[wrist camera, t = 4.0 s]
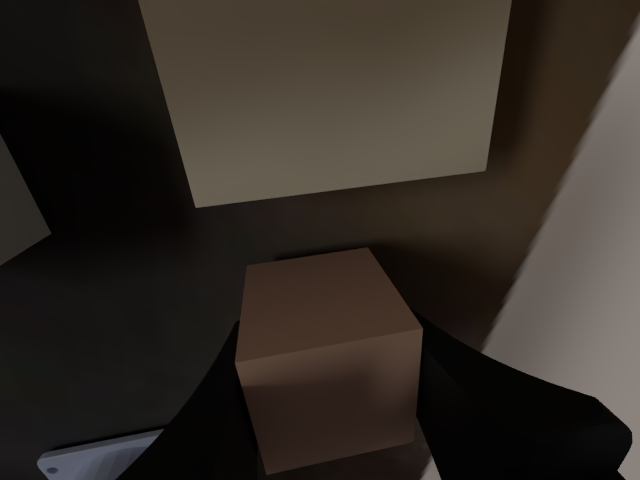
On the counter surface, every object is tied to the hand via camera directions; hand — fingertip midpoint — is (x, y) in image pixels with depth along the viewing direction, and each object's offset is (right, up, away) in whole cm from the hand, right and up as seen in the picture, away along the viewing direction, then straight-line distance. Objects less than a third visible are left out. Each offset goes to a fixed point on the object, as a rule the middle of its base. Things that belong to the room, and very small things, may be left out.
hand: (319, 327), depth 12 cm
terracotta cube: (0, +1, +1) cm, 1 cm away
